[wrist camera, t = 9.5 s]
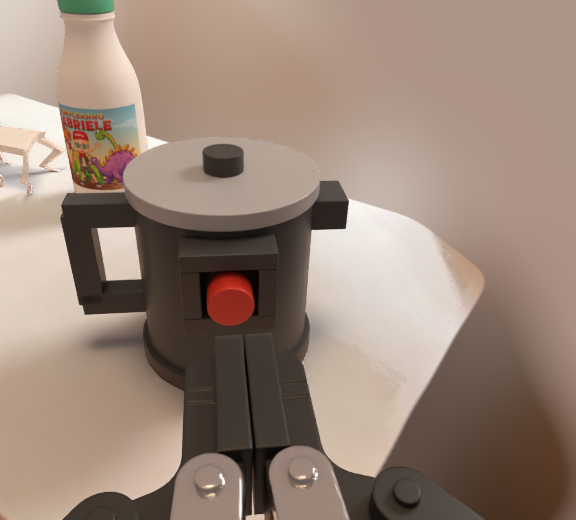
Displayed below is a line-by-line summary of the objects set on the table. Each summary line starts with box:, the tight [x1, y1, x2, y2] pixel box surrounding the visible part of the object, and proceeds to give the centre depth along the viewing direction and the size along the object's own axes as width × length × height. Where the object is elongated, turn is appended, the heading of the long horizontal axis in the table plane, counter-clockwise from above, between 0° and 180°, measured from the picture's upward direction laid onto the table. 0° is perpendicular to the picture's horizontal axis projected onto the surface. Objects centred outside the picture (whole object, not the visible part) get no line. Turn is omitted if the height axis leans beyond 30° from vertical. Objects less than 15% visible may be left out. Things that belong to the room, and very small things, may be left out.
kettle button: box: [207, 271, 254, 326], centre depth 27 cm, size 2×2×2 cm
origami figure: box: [0, 126, 65, 195], centre depth 59 cm, size 12×8×5 cm
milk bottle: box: [57, 0, 148, 193], centre depth 50 cm, size 8×8×20 cm
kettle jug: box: [60, 137, 349, 390], centre depth 34 cm, size 13×17×14 cm
